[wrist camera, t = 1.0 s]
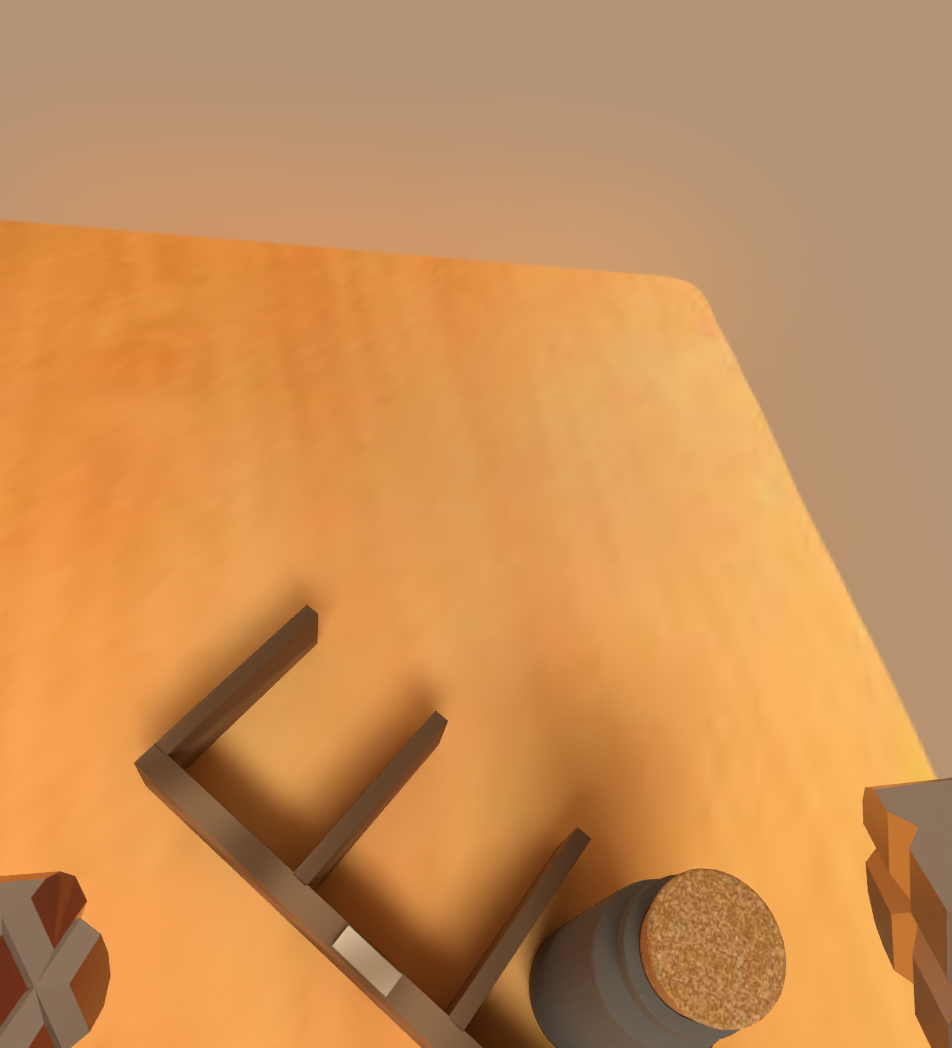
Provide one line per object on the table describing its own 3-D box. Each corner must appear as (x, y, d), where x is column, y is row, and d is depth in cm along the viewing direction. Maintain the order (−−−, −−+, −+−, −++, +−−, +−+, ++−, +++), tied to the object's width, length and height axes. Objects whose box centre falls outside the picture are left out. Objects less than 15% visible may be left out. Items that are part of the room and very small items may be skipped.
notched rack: (145, 785, 41) (132, 760, 38) (306, 634, 47) (306, 602, 44) (598, 1215, 35) (627, 1227, 31) (718, 977, 40) (753, 968, 37)
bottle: (574, 895, 41) (687, 814, 29) (671, 982, 40) (833, 934, 28) (502, 999, 38) (595, 956, 26) (604, 1096, 37) (753, 1099, 25)
